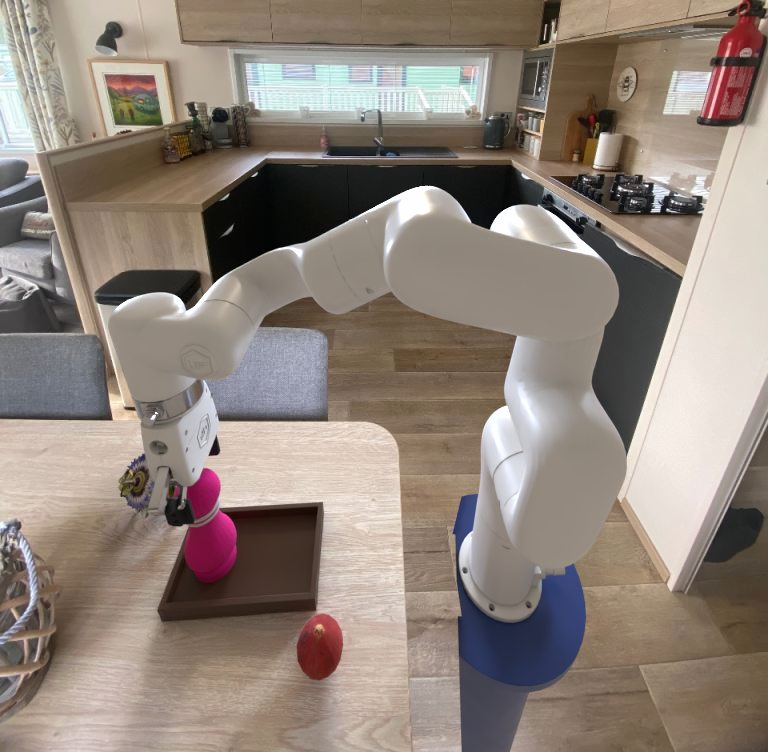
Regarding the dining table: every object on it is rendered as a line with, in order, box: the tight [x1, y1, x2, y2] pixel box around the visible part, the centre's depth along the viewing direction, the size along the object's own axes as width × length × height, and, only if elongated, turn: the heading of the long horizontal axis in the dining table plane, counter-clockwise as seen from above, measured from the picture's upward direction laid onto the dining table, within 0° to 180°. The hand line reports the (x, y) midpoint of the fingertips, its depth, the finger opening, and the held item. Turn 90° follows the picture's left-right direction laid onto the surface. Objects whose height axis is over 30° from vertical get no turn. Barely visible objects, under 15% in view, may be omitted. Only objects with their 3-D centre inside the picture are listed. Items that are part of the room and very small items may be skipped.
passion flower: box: [117, 452, 176, 520], centre depth 70 cm, size 11×11×12 cm
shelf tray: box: [156, 501, 325, 623], centre depth 61 cm, size 22×14×3 cm, turn 94°
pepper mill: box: [174, 467, 237, 583], centre depth 57 cm, size 7×7×20 cm
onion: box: [296, 613, 344, 681], centre depth 49 cm, size 6×6×8 cm
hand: (197, 485), depth 54 cm, fingers open, 9 cm apart
